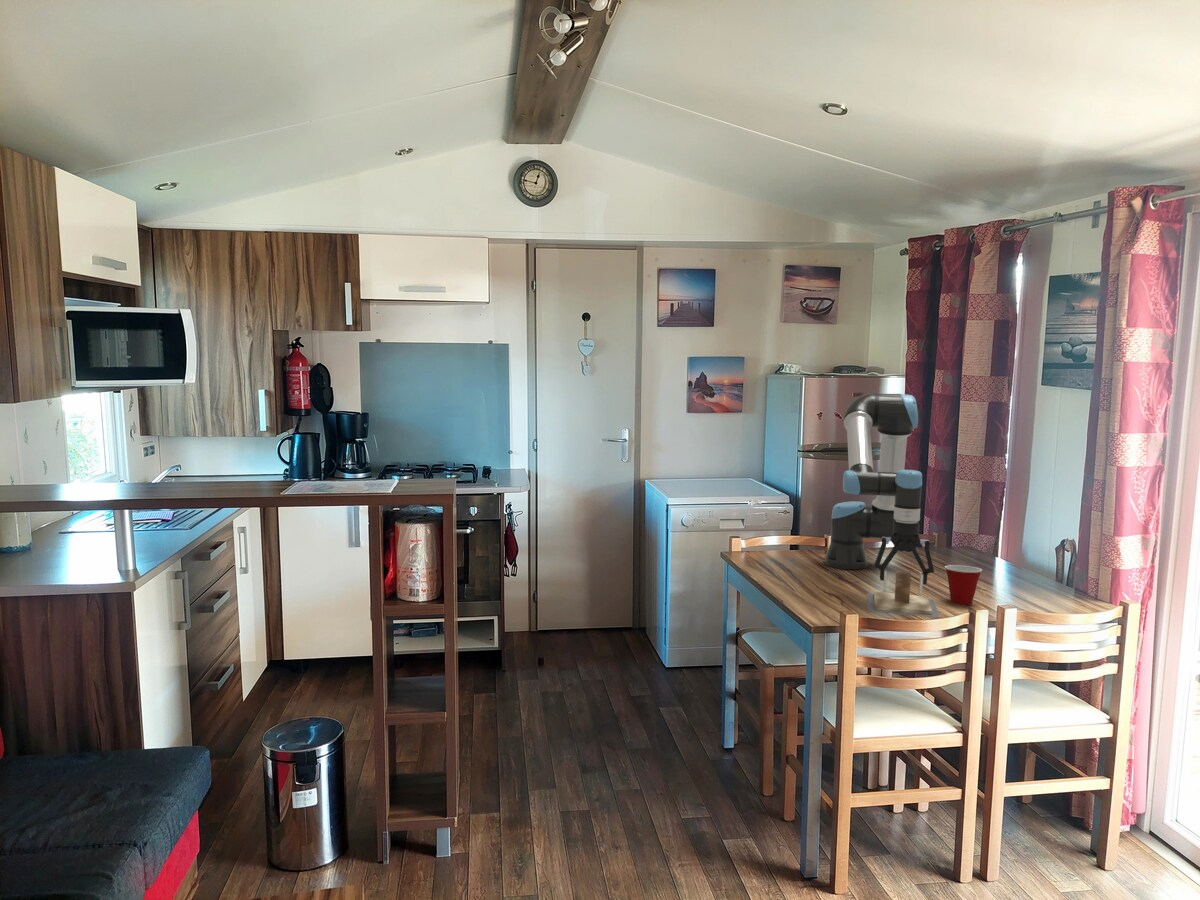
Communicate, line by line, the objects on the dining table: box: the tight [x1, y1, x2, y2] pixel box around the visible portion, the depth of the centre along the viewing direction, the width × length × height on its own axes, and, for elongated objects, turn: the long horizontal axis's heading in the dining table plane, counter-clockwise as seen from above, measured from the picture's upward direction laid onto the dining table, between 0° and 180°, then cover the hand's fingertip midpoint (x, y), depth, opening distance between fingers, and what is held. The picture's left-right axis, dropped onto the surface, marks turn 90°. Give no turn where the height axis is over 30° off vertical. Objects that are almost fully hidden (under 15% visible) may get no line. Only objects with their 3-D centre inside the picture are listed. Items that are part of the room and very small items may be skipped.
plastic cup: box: [944, 564, 983, 606], centre depth 258 cm, size 11×11×12 cm
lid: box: [873, 569, 932, 615], centre depth 254 cm, size 16×16×10 cm
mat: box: [866, 592, 941, 619], centre depth 255 cm, size 20×20×1 cm
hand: (902, 592), depth 254 cm, fingers open, 10 cm apart
